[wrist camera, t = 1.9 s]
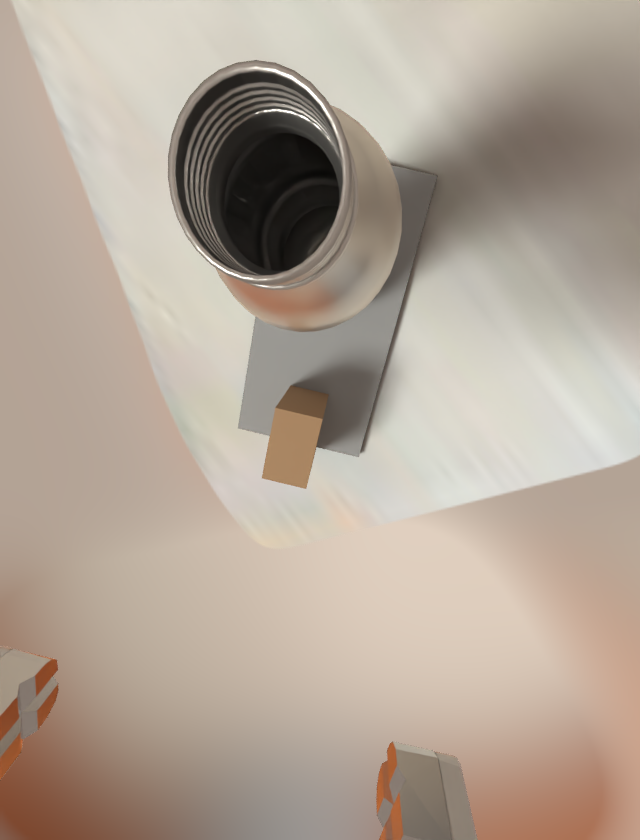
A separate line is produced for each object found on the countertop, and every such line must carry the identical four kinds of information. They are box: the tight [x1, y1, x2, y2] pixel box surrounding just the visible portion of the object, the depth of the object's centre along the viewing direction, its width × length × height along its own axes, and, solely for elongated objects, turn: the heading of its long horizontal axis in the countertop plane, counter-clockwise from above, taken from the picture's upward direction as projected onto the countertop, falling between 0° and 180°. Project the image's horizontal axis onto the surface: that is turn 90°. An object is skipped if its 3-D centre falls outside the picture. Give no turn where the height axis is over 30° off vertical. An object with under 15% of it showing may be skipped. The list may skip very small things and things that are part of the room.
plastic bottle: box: [168, 60, 402, 332], centre depth 17 cm, size 6×7×20 cm
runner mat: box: [238, 165, 437, 489], centre depth 25 cm, size 20×10×6 cm, turn 167°
